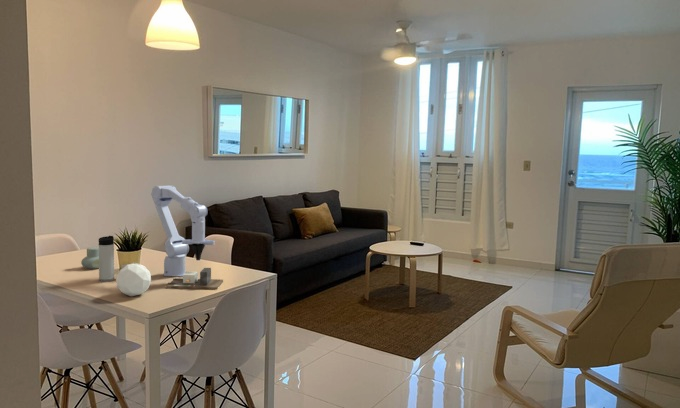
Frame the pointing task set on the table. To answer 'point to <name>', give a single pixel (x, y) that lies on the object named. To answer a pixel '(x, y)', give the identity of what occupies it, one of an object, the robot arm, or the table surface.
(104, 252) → the travel mug
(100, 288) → the table surface
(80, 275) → the table surface
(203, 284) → the base
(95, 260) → the air freshener
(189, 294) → the table surface
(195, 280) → the block
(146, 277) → the geodesic sphere
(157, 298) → the table surface
